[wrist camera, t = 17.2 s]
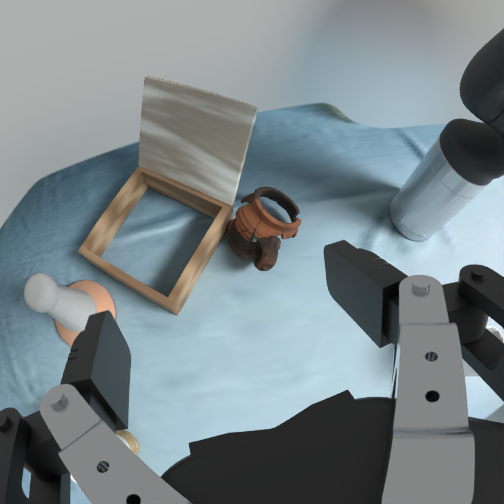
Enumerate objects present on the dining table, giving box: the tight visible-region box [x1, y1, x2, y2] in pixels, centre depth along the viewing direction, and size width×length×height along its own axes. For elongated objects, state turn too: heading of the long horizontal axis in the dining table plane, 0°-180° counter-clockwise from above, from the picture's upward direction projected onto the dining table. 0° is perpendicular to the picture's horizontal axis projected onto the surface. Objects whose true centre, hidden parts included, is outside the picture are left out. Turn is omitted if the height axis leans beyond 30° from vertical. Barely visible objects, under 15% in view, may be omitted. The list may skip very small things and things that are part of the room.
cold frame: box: [78, 76, 258, 315], centre depth 38 cm, size 22×16×17 cm
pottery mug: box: [227, 187, 301, 271], centre depth 43 cm, size 12×10×8 cm
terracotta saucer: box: [55, 280, 116, 346], centre depth 40 cm, size 10×10×1 cm
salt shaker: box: [24, 273, 97, 332], centre depth 33 cm, size 6×6×13 cm
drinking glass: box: [462, 326, 504, 376], centre depth 35 cm, size 7×7×10 cm
